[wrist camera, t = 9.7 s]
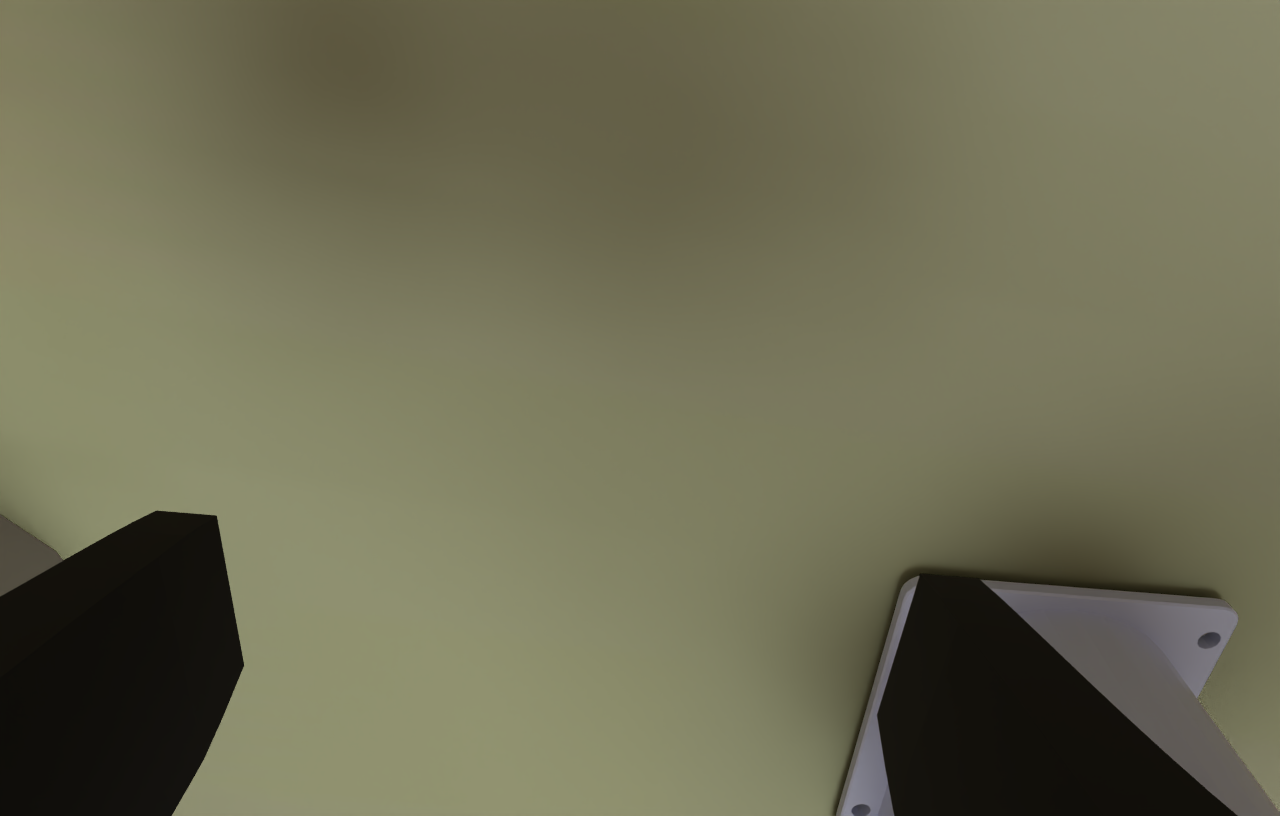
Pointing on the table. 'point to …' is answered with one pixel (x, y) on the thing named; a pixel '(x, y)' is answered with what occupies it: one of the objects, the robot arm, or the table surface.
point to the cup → (22, 556)
